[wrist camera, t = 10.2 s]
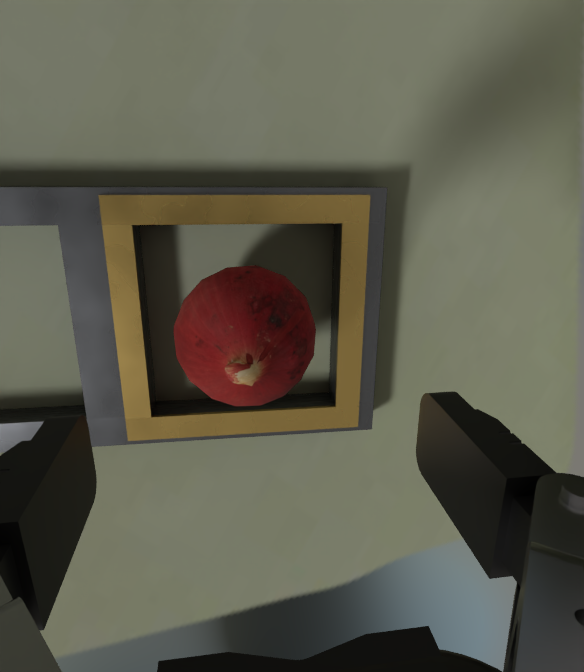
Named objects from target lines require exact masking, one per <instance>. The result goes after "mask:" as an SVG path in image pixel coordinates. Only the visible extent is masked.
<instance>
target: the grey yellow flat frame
mask: <svg viewBox="0 0 584 672" xmlns="http://www.w3.org/2000/svg"><path fill="white" fill-rule="evenodd" d="M386 198H387V188H386V187H5V186H0V226H16V225H58V228H59V235H60V242H61V248H62V255H63V262H64V268H65V275H66V282H67V289H68V295H69V302H70V309H71V316H72V322H73V329H74V336H75V342H76V349H77V356H78V363H79V369H80V376H81V383H82V390H83V396H84V403H85V405H83V406H63V407H44V408H25V409H6V410H0V452H6V451H8V450H9V449H11V448H12V447H14V446H15V445H17V444H18V443H19V442H21V441H28V440H31V439H32V438H33V436H34V435H35V434H36V432H37V431H38V429H39V428H40V427H41V425H42V424H43V422H44V421H45V420H46V419H47V418H48V417H61V416H77V415H83V416H85V418H86V420H87V423H88V428H89V434H90V440H91V446H92V447H95V446H111V445H127V444H143V443H159V442H175V441H191V440H207V439H223V438H239V437H255V436H271V435H287V434H303V433H319V432H335V431H351V430H367V429H372V418H373V402H374V387H375V371H376V355H377V340H378V324H379V308H380V292H381V277H382V261H383V245H384V230H385V214H386ZM313 223H334V248H333V281H332V313H331V346H330V378H329V393H312V394H293V395H284V396H283V397H280V398H278V399H275V400H273V401H270V402H268V403H265V404H263V405H260V406H233V405H230V404H227V403H224V402H221V401H218V400H215V399H198V400H178V401H159V402H156V394H155V383H154V373H153V362H152V352H151V341H150V331H149V321H148V310H147V300H146V289H145V279H144V268H143V258H142V247H141V237H140V227H139V225H192V224H313Z"/></svg>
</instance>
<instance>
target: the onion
mask: <svg viewBox="0 0 584 672" xmlns="http://www.w3.org/2000/svg"><path fill="white" fill-rule="evenodd" d="M315 333H316V328H315V323H314V320H313V317H312V314H311V311H310V308H309V305H308V302H307V299H306V297H305V296H304V295H303V294H302V293H301V292H300V291H299V290H298V289H297V288H296V287H295V286H294V285H293V284H292V283H291V282H290V281H289V280H288V279H287V278H286V277H285V276H283V275H281V274H278V273H275V272H273V271H270V270H267V269H264V268H262V267H259V266H256V265H254V266H242V267H229V268H225V269H223V270H221V271H219V272H217V273H215V274H213V275H211V276H209V277H207V278H205V279H203V280H201V281H200V283H199V284H198V285H197V286H196V287H195V288H194V289H193V290H192V292H191V293H190V294H189V295H188V296H187V297H186V298H185V299H184V301H183V303H182V306H181V309H180V311H179V314H178V317H177V319H176V322H175V325H174V340H175V348H176V356H177V359H178V361H179V363H180V365H181V366H182V368H183V370H184V372H185V373H186V375H187V377H188V379H189V380H190V381H191V382H192V383H193V384H195V385H196V386H197V387H198V388H200V389H201V390H202V391H203V392H204V393H206V394H207V395H208V396H209V397H210V398H212V399H215V400H218V401H221V402H224V403H227V404H230V405H233V406H260V405H263V404H265V403H268V402H270V401H273V400H275V399H278V398H280V397H283V396H284V395H285V394H286V393H287V392H288V391H290V390H291V389H292V388H293V387H294V386H295V385H296V384H297V383H298V382H299V381H300V380H301V378H302V376H303V374H304V372H305V371H306V369H307V367H308V365H309V363H310V361H311V359H312V358H313V356H314V345H315Z"/></svg>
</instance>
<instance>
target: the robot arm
mask: <svg viewBox="0 0 584 672" xmlns="http://www.w3.org/2000/svg"><path fill="white" fill-rule="evenodd" d="M416 457H417V463H418V467H419V470H420V472H421V474H422V476H423V477H424V479H425V480H426V482H427V483H428V485H429V486H430V488H431V490H432V491H433V493H434V494H435V496H436V497H437V499H438V500H439V502H440V503H441V505H442V506H443V508H444V510H445V511H446V513H447V514H448V516H449V517H450V519H451V520H452V522H453V523H454V525H455V526H456V528H457V529H458V531H459V533H460V534H461V536H462V537H463V539H464V540H465V542H466V543H467V545H468V546H469V548H470V549H471V551H472V552H473V554H474V556H475V557H476V559H477V560H478V562H479V563H480V565H481V566H482V568H483V569H484V571H485V572H486V574H487V575H488V577H489V578H490V579H491V578H499V577H508V576H513V577H514V579H515V580H516V581H517V585H516V590H515V595H514V601H513V609H512V615H511V623H510V629H509V635H508V642H507V649H506V656H505V663H504V670H503V672H584V477H581V476H577V475H573V474H566V473H556V472H555V471H554V470H553V469H552V468H550V467H549V466H548V465H547V464H546V463H545V462H544V461H543V460H542V459H541V458H539V457H538V456H537V455H536V454H535V453H534V452H533V451H532V450H531V449H530V448H528V447H527V446H526V445H525V444H522V443H521V440H520V439H519V438H517V437H516V436H515V435H514V434H513V433H512V434H511V433H510V430H509V429H508V428H506V427H505V426H504V425H503V424H502V423H501V422H500V421H499V420H498V419H496V418H494V417H492V416H490V415H488V414H486V413H484V412H482V411H480V410H478V409H477V410H475V409H474V408H473V407H472V406H470V405H469V404H468V403H467V402H466V401H465V400H464V399H463V398H462V397H461V396H460V395H459V394H458V393H457V392H439V393H426V394H424V395H423V396H422V399H421V403H420V413H419V424H418V434H417V445H416ZM95 495H96V471H95V464H94V458H93V452H92V446H91V440H90V434H89V428H88V423H87V420H86V418H85V416H83V415H77V416H61V417H48V418H47V419H46V420H45V421H44V422H43V424H42V425H41V427H40V428H39V429H38V431H37V432H36V434H35V435H34V436H33V438H32V439H31V440H28V441H21V442H19V443H18V444H17V445H15V446H14V447H12V448H11V449H9V450H8V451H6V452H5V453H3V454H2V455H1V456H0V672H62V671H61V669H60V668H59V666H58V664H57V662H56V660H55V658H54V656H53V655H52V653H51V651H50V649H49V647H48V646H47V644H46V642H45V640H44V638H43V636H42V635H41V633H40V631H39V630H44V628H45V626H46V623H47V620H48V618H49V615H50V613H51V610H52V608H53V605H54V603H55V600H56V597H57V595H58V592H59V590H60V587H61V585H62V582H63V580H64V577H65V574H66V572H67V569H68V567H69V564H70V562H71V559H72V556H73V554H74V551H75V549H76V546H77V544H78V541H79V539H80V536H81V533H82V531H83V528H84V526H85V523H86V521H87V518H88V516H89V513H90V510H91V508H92V505H93V503H94V499H95ZM157 672H502V671H500V670H498V669H497V668H494V667H492V666H490V665H488V664H486V663H484V662H482V661H479V660H477V659H474V658H471V657H468V656H465V655H462V654H458V653H454V652H450V651H446V650H439V648H438V646H437V644H436V642H435V639H434V637H433V635H432V633H431V631H430V628H429V626H425V627H418V628H409V629H402V630H394V631H387V632H379V633H371V634H365V635H363V636H360V637H358V638H355V639H353V640H351V641H348V642H346V643H343V644H341V645H338V646H336V647H334V648H331V649H329V650H326V651H324V652H322V653H319V654H317V655H314V656H312V657H309V658H307V659H304V660H289V659H282V658H273V657H264V656H256V655H249V654H240V653H232V652H225V653H218V654H210V655H203V656H195V657H187V658H179V659H172V660H164V661H159V662H158V670H157Z"/></svg>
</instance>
